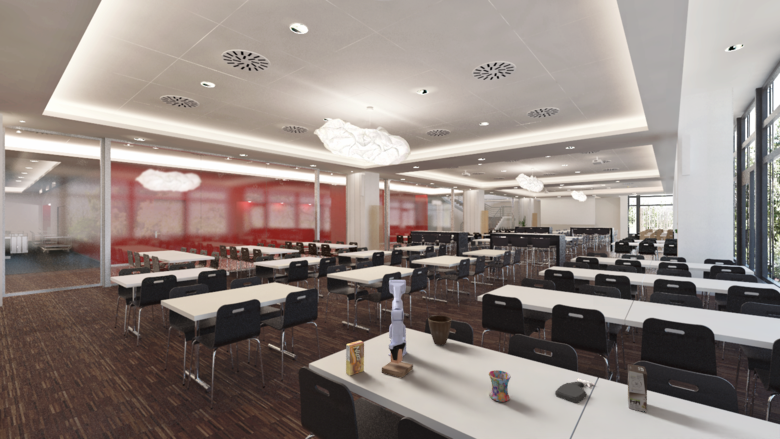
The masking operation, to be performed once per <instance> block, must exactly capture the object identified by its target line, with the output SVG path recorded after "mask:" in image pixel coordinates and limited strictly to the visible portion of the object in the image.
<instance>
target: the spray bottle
mask: <svg viewBox="0 0 780 439" xmlns="http://www.w3.org/2000/svg"><path fill="white" fill-rule="evenodd" d="M576 380H577V381H572V382H566V383H563V384H562V385H560V386H559V387H558V388H557V389H556V390H555V391H554V392H555V393H554V394H555V396H556V397H557V398H559V399H562V400H565V401H567V402H570V403H572V404H578V403H580V402H581V401H584V399H585V398H586V397H587V392H586V391H585V389H583V387H585V386H588V388H590V387H591V386H595V383H594V382H593V381H592V382H591V381H590V380H589V381H588V380H586V379H585V380H584V379H581V378H577V379H576Z"/></svg>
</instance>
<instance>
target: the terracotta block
mask: <svg viewBox="0 0 780 439" xmlns="http://www.w3.org/2000/svg"><path fill="white" fill-rule="evenodd" d="M390 362H392V363H397V364H399V363H400V362H403V356H402V349H399V351H398V358H397V360H393V358H392V354H391V356H390Z"/></svg>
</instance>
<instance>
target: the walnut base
mask: <svg viewBox="0 0 780 439" xmlns="http://www.w3.org/2000/svg"><path fill="white" fill-rule="evenodd" d="M412 370H414V364H412V363H407V362H404V361H401V362H400V363H399V364H397V363H392V362H391V361H389V362H387V364H385V365H384V366H382V367H381V373H382V374H385V375H389V376H393V377H396V378H400V379H402V378H404V377H405V376H406V375H408V374H409V373H410V372H411V371H412Z"/></svg>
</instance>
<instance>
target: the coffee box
mask: <svg viewBox="0 0 780 439" xmlns="http://www.w3.org/2000/svg"><path fill="white" fill-rule="evenodd" d="M627 404H628V409H630V410H633V409H634V410H633V411H638V410H639V411H638V412H641V411H645V412H646V413H648V412H647V411H648V409H647V407H648V372H647V369H646V367H645V366H642V365H638V364H630V363H627ZM645 412H644V413H645Z"/></svg>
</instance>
